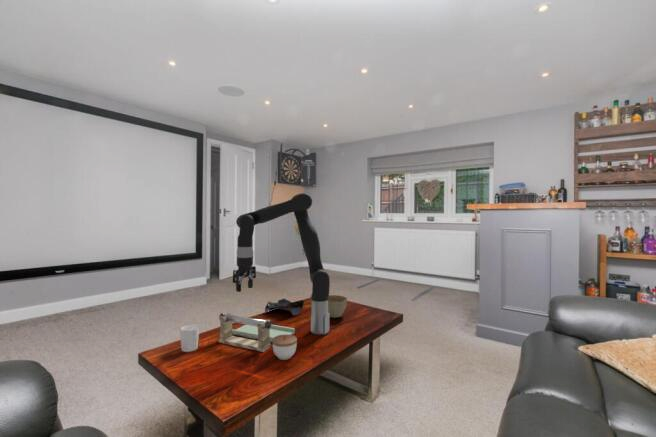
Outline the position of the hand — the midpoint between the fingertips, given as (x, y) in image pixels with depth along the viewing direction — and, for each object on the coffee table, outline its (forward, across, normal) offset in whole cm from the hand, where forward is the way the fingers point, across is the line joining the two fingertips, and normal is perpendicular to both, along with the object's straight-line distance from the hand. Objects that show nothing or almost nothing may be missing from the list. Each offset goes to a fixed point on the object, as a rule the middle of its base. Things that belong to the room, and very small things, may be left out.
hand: (244, 289), depth 143 cm
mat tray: (+26, +15, 0) cm, 30 cm away
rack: (+26, 0, 0) cm, 26 cm away
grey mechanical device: (+27, +48, +7) cm, 55 cm away
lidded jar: (+26, -3, -24) cm, 36 cm away
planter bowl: (+26, +57, -24) cm, 67 cm away
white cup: (+27, -14, +20) cm, 36 cm away
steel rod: (+15, 0, 0) cm, 15 cm away
